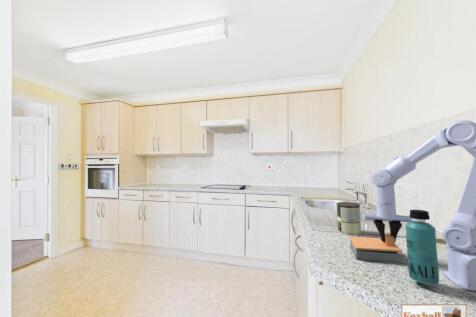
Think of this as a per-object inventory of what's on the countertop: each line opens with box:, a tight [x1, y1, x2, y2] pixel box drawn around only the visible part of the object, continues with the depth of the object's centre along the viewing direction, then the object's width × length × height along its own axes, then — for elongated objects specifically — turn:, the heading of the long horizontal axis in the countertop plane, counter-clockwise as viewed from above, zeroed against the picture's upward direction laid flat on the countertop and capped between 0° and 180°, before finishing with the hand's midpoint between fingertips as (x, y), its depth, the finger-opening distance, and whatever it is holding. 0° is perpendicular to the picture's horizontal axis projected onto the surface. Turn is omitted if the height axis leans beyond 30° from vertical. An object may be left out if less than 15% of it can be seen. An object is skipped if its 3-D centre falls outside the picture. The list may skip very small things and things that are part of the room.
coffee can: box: [336, 201, 362, 237], centre depth 102 cm, size 10×10×14 cm
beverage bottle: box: [405, 209, 441, 286], centre depth 56 cm, size 6×7×20 cm
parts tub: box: [349, 240, 402, 265], centre depth 75 cm, size 11×13×3 cm
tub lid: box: [348, 232, 403, 253], centre depth 75 cm, size 12×14×4 cm
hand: (388, 241), depth 74 cm, fingers closed on tub lid, 2 cm apart
